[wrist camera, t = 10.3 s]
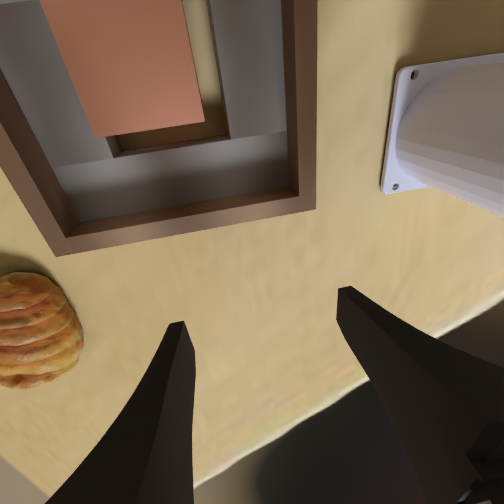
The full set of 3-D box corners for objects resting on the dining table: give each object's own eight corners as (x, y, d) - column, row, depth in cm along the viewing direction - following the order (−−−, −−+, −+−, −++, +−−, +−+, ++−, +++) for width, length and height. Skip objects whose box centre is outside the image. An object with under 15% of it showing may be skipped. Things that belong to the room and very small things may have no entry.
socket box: (283, -152, 11) (319, -254, 8) (295, 188, 19) (315, 209, 16) (-96, -123, 10) (-242, -229, 7) (82, 226, 18) (55, 257, 15)
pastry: (-34, 263, 18) (-83, 299, 15) (76, 267, 20) (53, 301, 17) (4, 354, 23) (-28, 397, 20) (91, 352, 25) (75, 391, 21)
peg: (186, 23, 14) (175, -28, 8) (203, 110, 16) (204, 121, 10) (107, 32, 13) (34, -13, 8) (135, 120, 16) (95, 138, 10)
